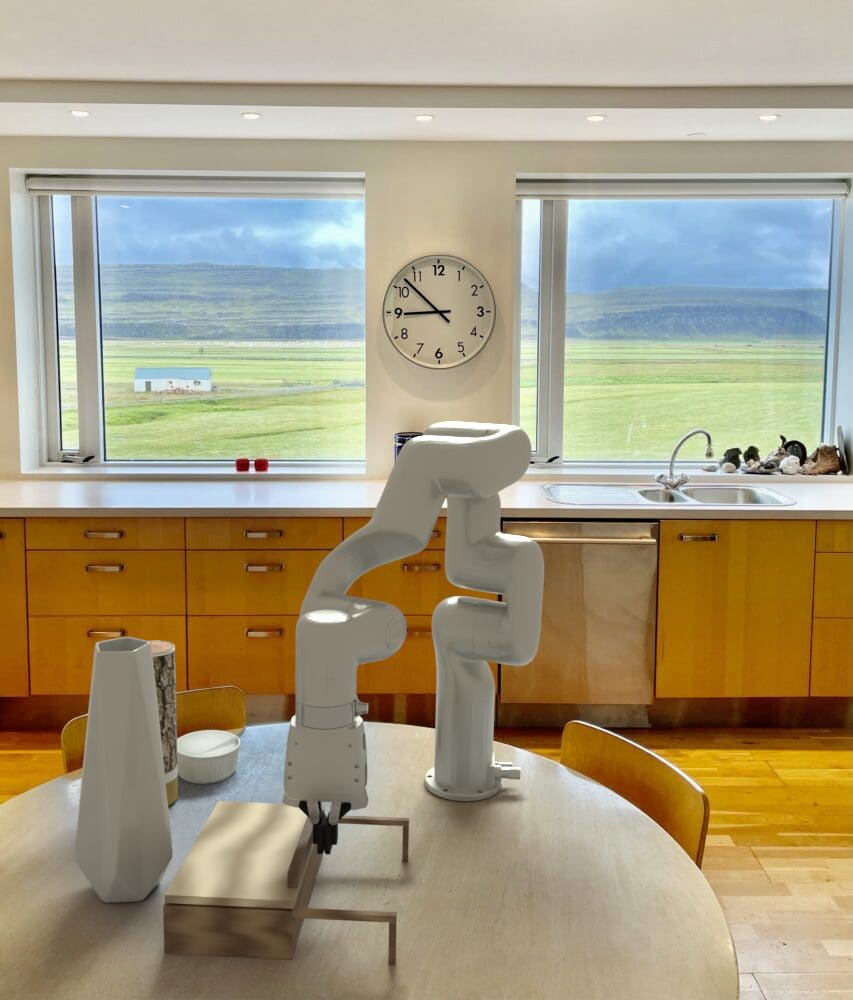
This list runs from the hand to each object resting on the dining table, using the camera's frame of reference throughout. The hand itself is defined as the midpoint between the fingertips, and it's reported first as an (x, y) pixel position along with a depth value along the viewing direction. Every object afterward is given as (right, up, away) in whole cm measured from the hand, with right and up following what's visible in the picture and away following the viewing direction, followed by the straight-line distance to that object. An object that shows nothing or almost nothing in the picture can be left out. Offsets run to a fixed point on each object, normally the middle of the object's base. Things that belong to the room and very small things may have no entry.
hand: (325, 848), depth 116 cm
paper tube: (-30, -3, +27) cm, 40 cm away
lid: (-9, -1, +1) cm, 9 cm away
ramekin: (-24, -2, +38) cm, 45 cm away
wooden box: (-4, -7, +1) cm, 8 cm away
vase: (-27, -7, +3) cm, 28 cm away
